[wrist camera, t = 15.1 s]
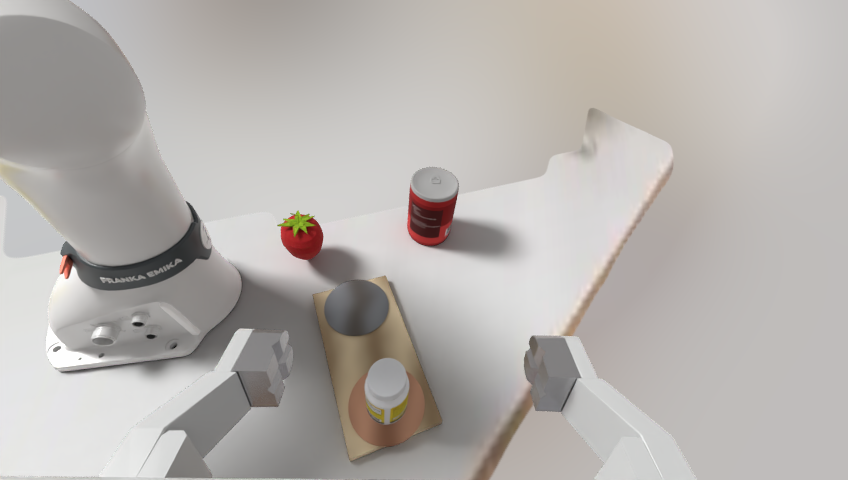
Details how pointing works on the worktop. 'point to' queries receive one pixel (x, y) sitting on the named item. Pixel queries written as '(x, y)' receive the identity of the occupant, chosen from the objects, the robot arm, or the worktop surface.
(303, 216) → the strawberry
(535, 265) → the worktop surface
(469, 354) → the worktop surface
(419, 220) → the canned food
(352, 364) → the board
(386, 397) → the supplement bottle
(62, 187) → the robot arm
